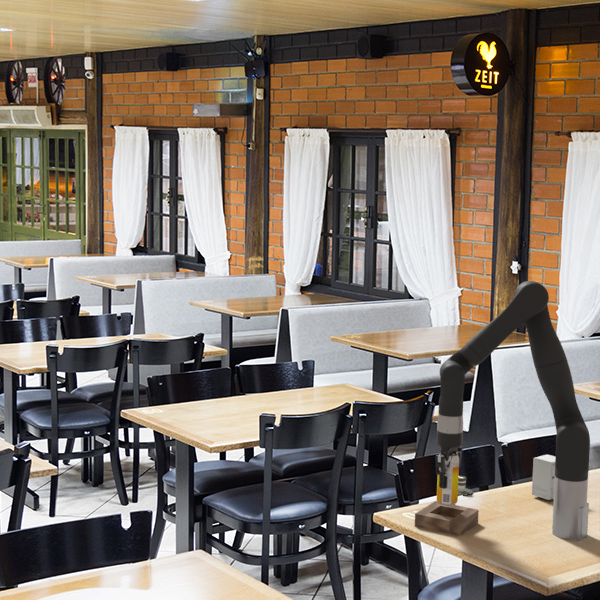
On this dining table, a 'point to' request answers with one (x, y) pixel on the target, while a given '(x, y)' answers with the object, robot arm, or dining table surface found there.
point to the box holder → (446, 518)
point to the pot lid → (463, 486)
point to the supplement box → (543, 476)
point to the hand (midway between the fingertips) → (447, 484)
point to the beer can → (449, 484)
